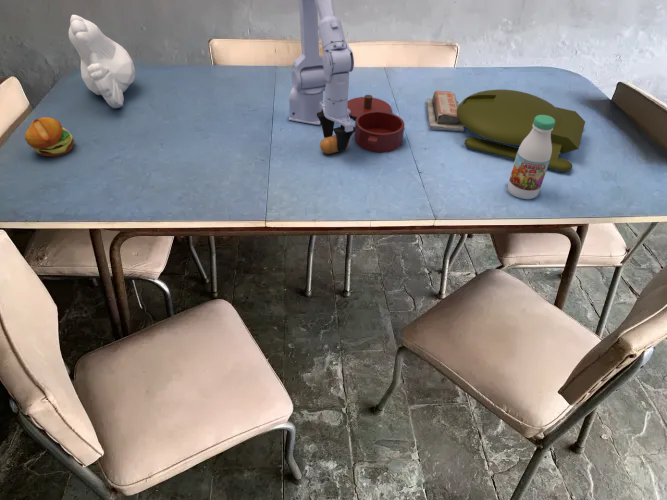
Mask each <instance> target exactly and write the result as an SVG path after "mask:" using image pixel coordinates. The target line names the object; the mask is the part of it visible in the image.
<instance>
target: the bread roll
mask: <svg viewBox="0 0 667 500" xmlns="http://www.w3.org/2000/svg"><path fill="white" fill-rule="evenodd" d="M349 146H350V141H349V142H348V145H347V148H346V150H347V149H348V148H349ZM319 148H320V150H321V152H322V153H324V154H327V155H330V154H334V153H340V152H339V151H338V149H337V139H336V135H332V136H330V137H326V138H322V140H321V141H320V144H319Z"/></svg>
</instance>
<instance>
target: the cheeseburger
mask: <svg viewBox="0 0 667 500" xmlns="http://www.w3.org/2000/svg"><path fill="white" fill-rule="evenodd" d="M73 138H74V136H73V134H71V133H70V131H69V130H68V129H66V128H64V127H63V126H62V123H61V122H60V121H59V120H57V119H55V118H53V117H48V116H47V117H46V116H45V117H39V118H36V119H34V120H32V122H31V124H30V125H29V127H28V128H27V130H25V134H24V140H25V141H26V144H27V145H28V146H30V148H32V149H33V150H34V151H35V152H36V153H37V154H40V155H41V156H43V157H60V156H62V155H66V154H68V153H69V152H70V151H71V150H72V149H73V147H74V139H73Z"/></svg>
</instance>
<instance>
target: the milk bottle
mask: <svg viewBox="0 0 667 500" xmlns="http://www.w3.org/2000/svg"><path fill="white" fill-rule="evenodd" d="M554 125H555V119H554V118H552V117H550V116H547V115H538V116H536V117H535V119H534V122H533V129H532V130H531V132H530V133H529V134H528V136H527V137H526V138H525V139H524V140H523V141H522V143H521V145H519V147H518V148H519V149H518V152H517V155H516V158H515V160H514V162H513V165H512V169H511V171H510V176H509V179H508V181H507V191H508V193H510V194H511V195H512V196H513V197H516V198H518V199H522V200H532V199H534V198H536V197H537V196H538V195H539V193H540V190H541V188H542V185H543V182H544V180H545V177H546V173H547V171H548V168H547V167H548V164H549V161H550V158H551V153H552V144H551V131H552V130H553V127H554Z"/></svg>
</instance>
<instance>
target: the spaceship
mask: <svg viewBox="0 0 667 500" xmlns="http://www.w3.org/2000/svg"><path fill="white" fill-rule="evenodd" d="M458 104H459V106H458V108H457V116H458V119H459V121H460V122H461V123H462V124H463V127H464V128H466V129H468V130H469V131H470V132H472V133H474V134H475V135H477V136H480V137H482V138H480V137H476V136H469V137H467V138H466V139H464V145H465V146H466V147H467V149H470V150H474V151H478V152H480V153H481V152H482V153H486V154H490V155H494V156H498V157H502V158H506V159H509V160H514V161H515V158H516V155H517V152H518V149H519V147H516V146H520V145H521V143H522V141H523V140H524V139H525V138H526V137H527V136H528V134H529V133H530V132H531V130H532V129H533V122H534V119H535V117H536V116H538V115H547V116H550V117H552V118H554V119H555V125H554V127H553V130H552V131H551V144H552V153H551V158H550V161H549V164H548V167H547V169H549V170H553V171H556V172H563V173H565V172H566V173H567V172H569V171H571V170H573V164H572V162H571V161H570V160H568V159H566V158H562V157H559V155H560V154H565V153H569V152H572V151H576V150H579V148H580V145H581V141H582V137H583V132H584V130H585V125H586V120H584V119H583V118H582V117H581V115H580V114H579V113H578V112H577V111H575V110H571V109H566V108H562V107H558V106H555V105H554V104H552V103H550V102H549V101H547V100H546V99H544V98H541V97H539V96H537V95H534V94H531V93H529V92H528V93H527V92H525V91H520V90H519V91H518V90H514V89H486V90H482V91H478V92H475V93H473V94H470V95H468V96H466V97H465V98H464V99H462V101H461V102H460V103H458Z"/></svg>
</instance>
